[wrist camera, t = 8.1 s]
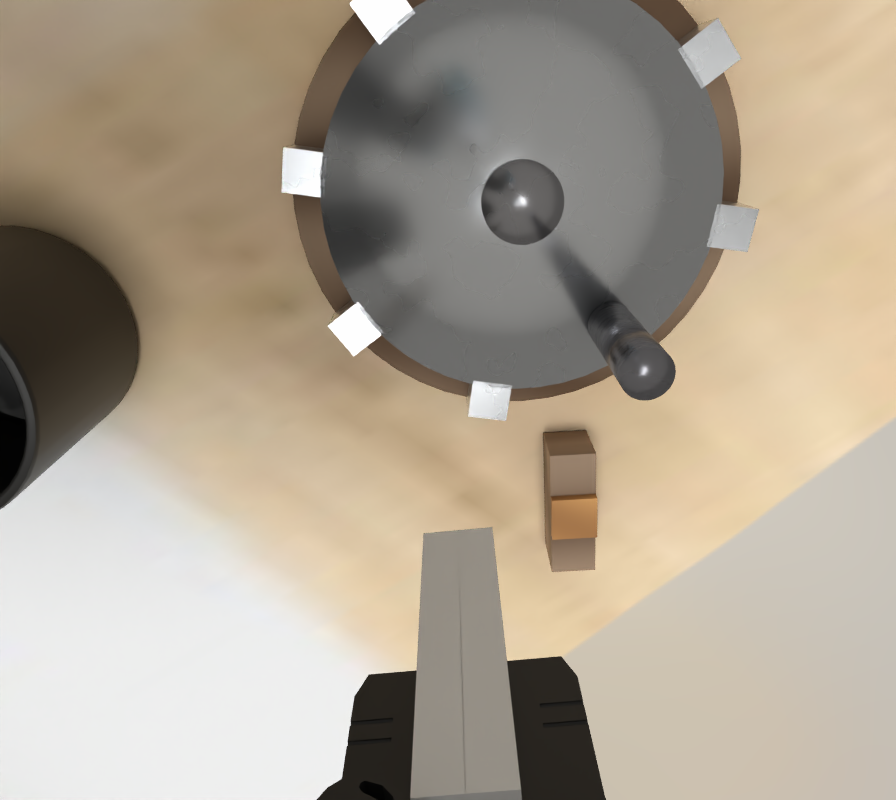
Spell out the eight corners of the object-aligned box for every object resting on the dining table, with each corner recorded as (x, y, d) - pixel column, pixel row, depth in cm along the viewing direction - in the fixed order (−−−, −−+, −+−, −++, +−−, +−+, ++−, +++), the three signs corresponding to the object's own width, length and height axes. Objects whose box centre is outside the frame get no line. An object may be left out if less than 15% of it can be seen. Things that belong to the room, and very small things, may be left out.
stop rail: (543, 432, 35) (551, 460, 32) (585, 430, 34) (597, 457, 32) (545, 542, 37) (553, 577, 34) (585, 540, 37) (596, 574, 34)
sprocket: (198, 154, 29) (111, 169, 21) (575, -188, 25) (629, -316, 17) (473, 474, 34) (480, 577, 27) (822, 234, 30) (945, 276, 23)
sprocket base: (264, -42, 27) (259, -46, 27) (751, -79, 27) (760, -84, 26) (325, 406, 34) (322, 413, 33) (718, 382, 34) (724, 388, 33)
